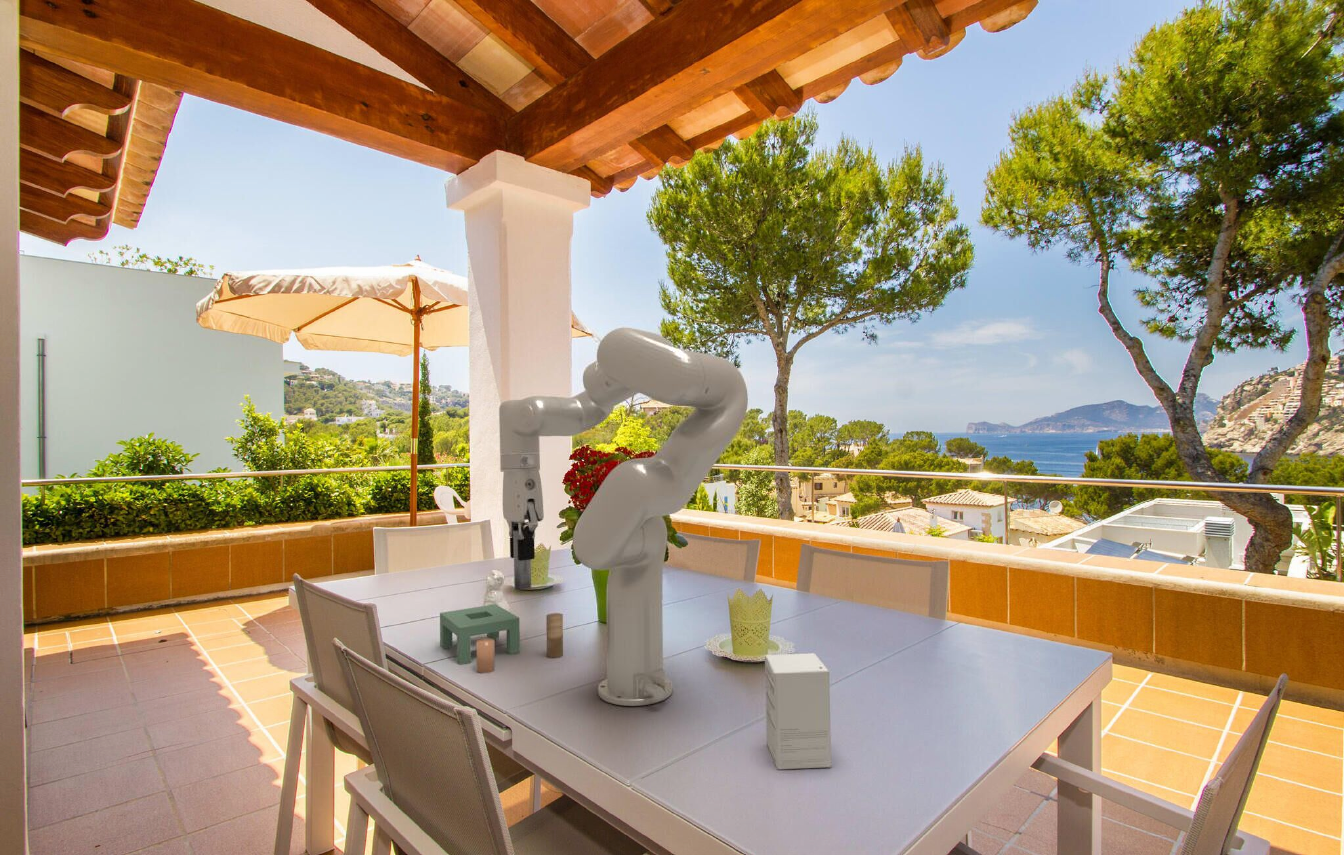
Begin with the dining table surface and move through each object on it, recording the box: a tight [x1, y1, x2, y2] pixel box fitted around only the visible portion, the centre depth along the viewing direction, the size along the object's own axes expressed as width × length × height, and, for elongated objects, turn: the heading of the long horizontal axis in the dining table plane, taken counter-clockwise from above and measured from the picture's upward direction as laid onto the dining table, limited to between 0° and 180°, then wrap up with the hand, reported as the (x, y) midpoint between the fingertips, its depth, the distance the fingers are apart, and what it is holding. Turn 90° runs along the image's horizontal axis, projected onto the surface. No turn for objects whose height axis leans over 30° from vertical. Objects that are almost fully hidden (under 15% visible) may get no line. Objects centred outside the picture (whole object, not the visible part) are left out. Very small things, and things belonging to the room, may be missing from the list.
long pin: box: [513, 530, 532, 590], centre depth 127 cm, size 3×3×11 cm
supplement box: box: [764, 652, 832, 770], centre depth 88 cm, size 7×7×13 cm
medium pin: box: [545, 612, 564, 659], centre depth 131 cm, size 3×3×8 cm
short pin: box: [476, 637, 496, 674], centre depth 123 cm, size 3×3×6 cm
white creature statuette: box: [482, 569, 511, 613], centre depth 158 cm, size 10×9×12 cm
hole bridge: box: [439, 604, 521, 666], centre depth 135 cm, size 14×12×7 cm
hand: (522, 557), depth 127 cm, fingers closed on long pin, 3 cm apart
